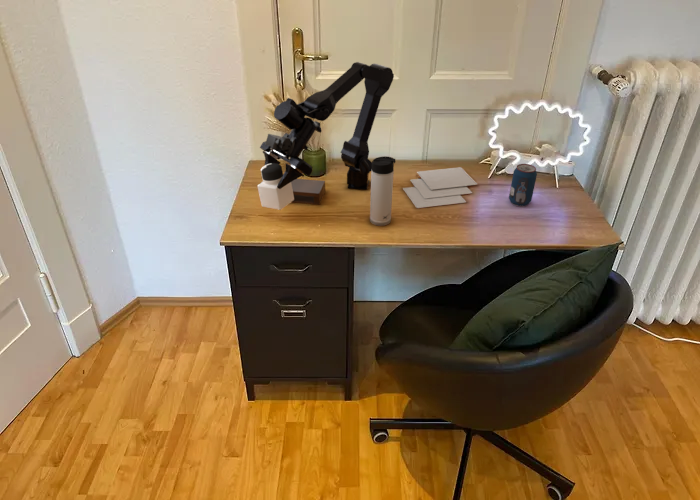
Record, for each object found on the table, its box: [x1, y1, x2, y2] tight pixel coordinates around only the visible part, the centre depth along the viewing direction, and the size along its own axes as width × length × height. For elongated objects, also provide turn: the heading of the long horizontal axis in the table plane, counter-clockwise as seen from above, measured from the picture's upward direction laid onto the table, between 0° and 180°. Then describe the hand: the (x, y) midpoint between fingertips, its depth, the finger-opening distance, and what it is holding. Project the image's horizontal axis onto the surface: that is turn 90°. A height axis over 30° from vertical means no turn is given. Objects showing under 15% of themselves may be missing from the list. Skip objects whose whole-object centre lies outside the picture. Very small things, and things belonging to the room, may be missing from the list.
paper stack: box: [402, 166, 479, 209], centre depth 179 cm, size 23×25×1 cm
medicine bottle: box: [257, 163, 294, 211], centre depth 157 cm, size 7×7×12 cm
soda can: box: [508, 163, 538, 208], centre depth 168 cm, size 7×7×12 cm
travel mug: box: [369, 155, 396, 227], centre depth 156 cm, size 6×7×20 cm
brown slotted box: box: [290, 178, 326, 206], centre depth 173 cm, size 17×9×4 cm, turn 81°
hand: (270, 183), depth 155 cm, fingers closed on medicine bottle, 7 cm apart
